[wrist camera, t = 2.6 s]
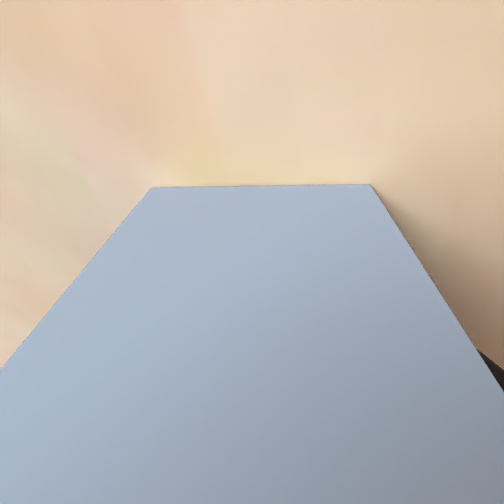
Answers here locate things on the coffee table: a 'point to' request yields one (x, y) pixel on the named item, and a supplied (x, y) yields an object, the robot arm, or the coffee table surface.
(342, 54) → the coffee table surface
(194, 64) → the coffee table surface
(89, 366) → the pale blue foam brick
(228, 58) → the coffee table surface
